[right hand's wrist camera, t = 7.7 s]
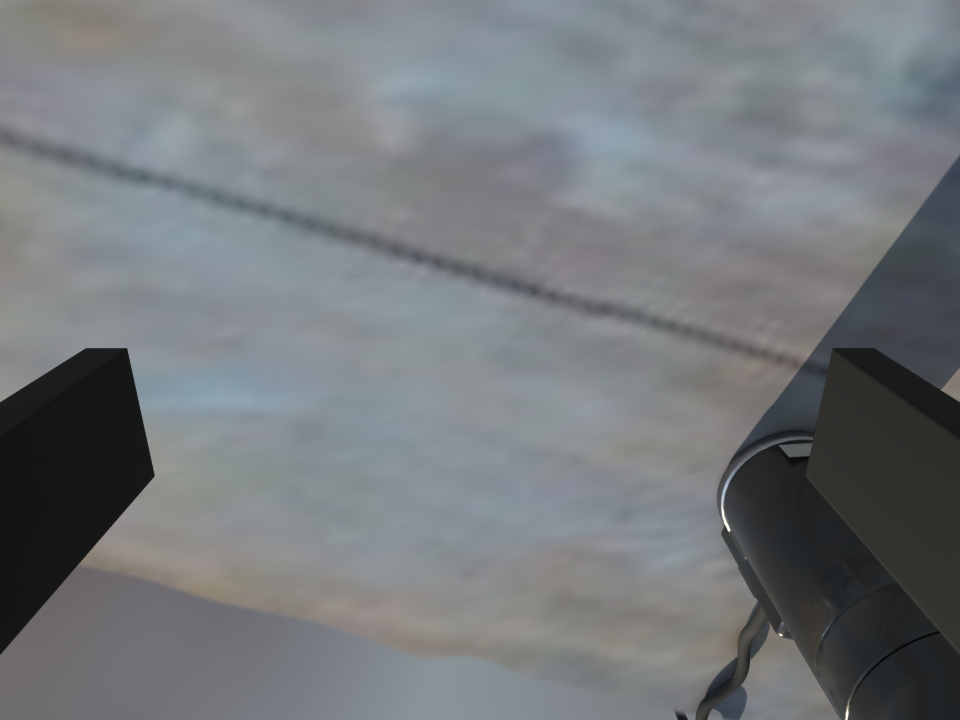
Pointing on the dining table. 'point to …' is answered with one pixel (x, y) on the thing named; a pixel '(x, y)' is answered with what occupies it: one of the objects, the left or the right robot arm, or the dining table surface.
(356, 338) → the dining table surface
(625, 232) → the dining table surface
